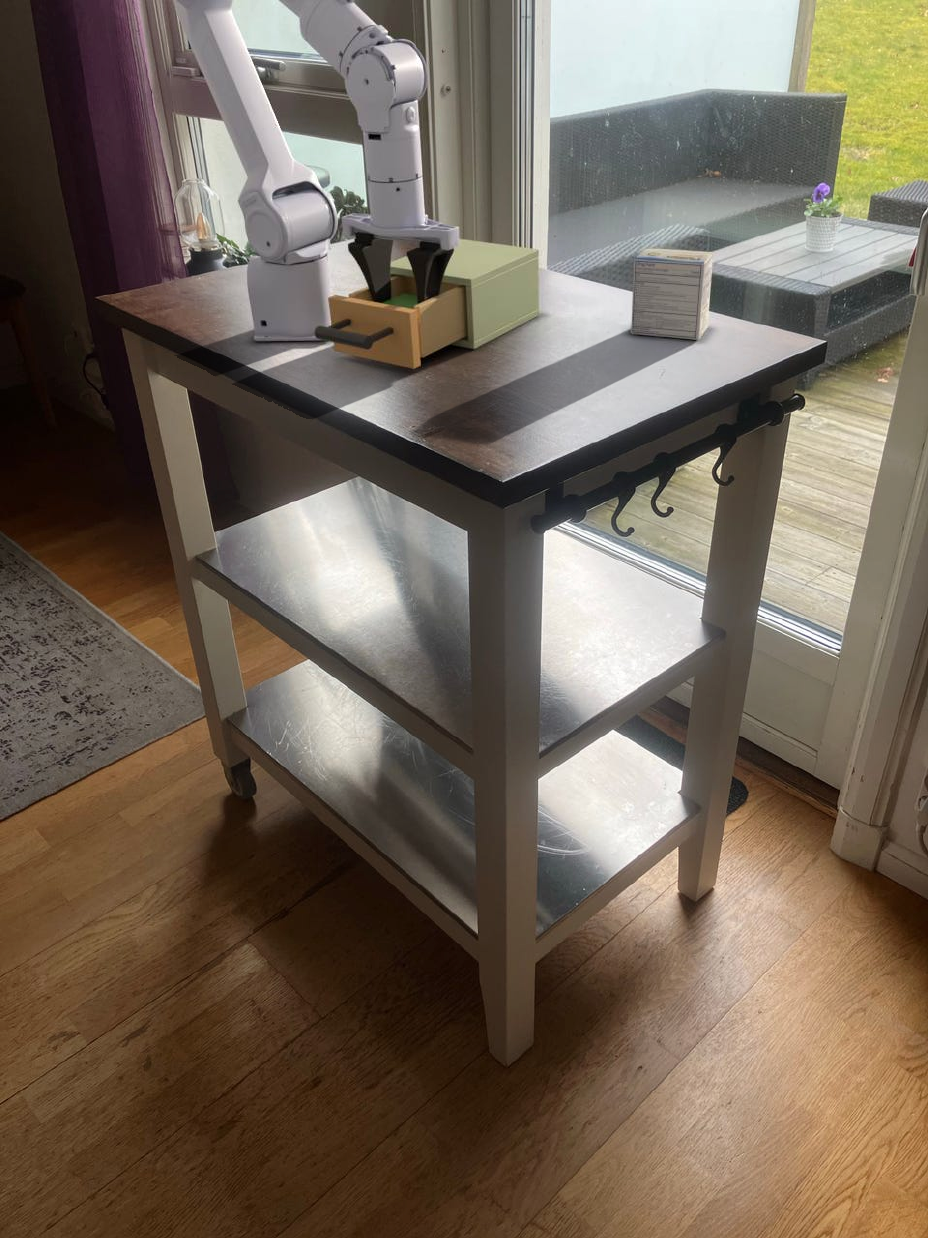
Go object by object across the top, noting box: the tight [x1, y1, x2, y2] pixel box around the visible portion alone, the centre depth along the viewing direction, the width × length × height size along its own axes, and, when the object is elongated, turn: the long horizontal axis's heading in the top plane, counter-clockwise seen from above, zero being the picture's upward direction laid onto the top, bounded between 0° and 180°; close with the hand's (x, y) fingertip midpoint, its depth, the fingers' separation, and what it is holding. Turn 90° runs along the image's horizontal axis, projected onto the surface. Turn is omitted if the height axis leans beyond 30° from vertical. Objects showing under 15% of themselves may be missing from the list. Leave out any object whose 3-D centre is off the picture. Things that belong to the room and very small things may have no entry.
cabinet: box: [390, 238, 540, 350], centre depth 119 cm, size 14×13×8 cm
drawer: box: [315, 275, 468, 370], centre depth 111 cm, size 17×11×6 cm, turn 144°
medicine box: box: [630, 248, 714, 341], centre depth 113 cm, size 8×4×9 cm, turn 65°
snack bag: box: [382, 294, 418, 309], centre depth 112 cm, size 7×5×4 cm
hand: (405, 308), depth 112 cm, fingers open, 6 cm apart
